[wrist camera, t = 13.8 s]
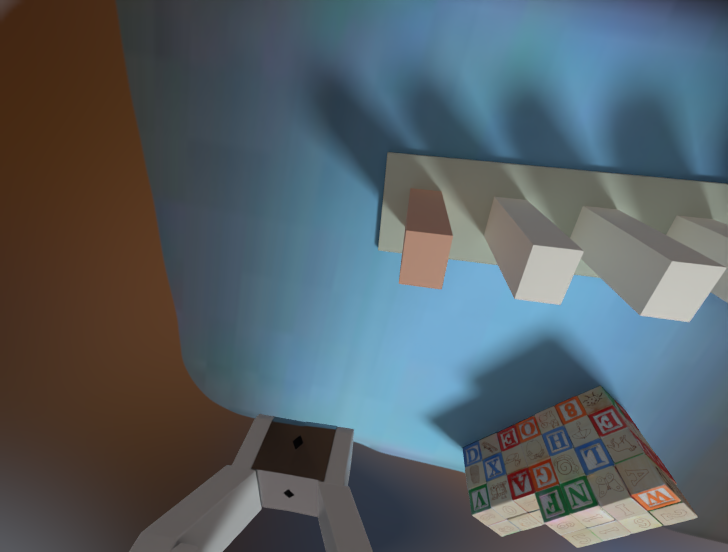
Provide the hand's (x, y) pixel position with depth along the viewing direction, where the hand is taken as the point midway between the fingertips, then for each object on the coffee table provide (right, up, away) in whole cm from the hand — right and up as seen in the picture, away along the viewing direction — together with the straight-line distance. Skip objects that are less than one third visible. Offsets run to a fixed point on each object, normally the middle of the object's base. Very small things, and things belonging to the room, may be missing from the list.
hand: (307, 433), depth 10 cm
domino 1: (+8, +11, +22) cm, 26 cm away
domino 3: (+23, +9, +21) cm, 32 cm away
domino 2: (+15, +10, +21) cm, 28 cm away
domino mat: (+23, +10, +21) cm, 33 cm away
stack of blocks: (+26, -17, +35) cm, 47 cm away
